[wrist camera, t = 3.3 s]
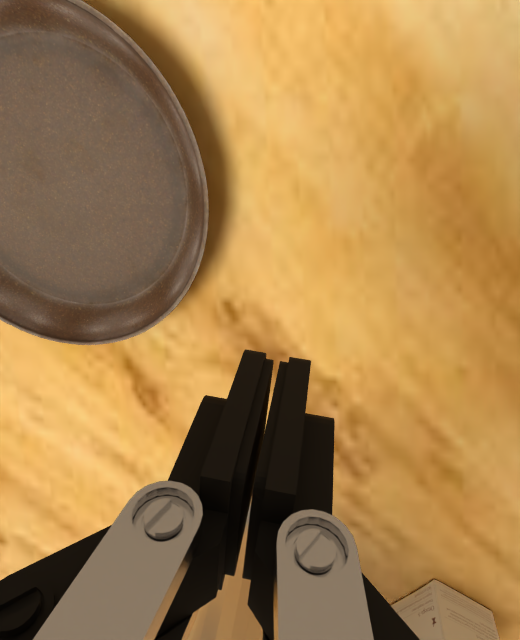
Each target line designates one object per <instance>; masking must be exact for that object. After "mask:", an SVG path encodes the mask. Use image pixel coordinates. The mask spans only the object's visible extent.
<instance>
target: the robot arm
mask: <svg viewBox="0 0 520 640" xmlns="http://www.w3.org/2000/svg"><path fill="white" fill-rule="evenodd" d="M310 365H311V361H310V360H304V359H298V358H292V357H290V358H289V363H287V362H282V361H280V364H279V369H278V374H277V378H276V383H275V387H274V392H273V397H272V401H271V406H270V411H269V415H268V420H267V424H266V417H267V409H268V401H269V393H270V386H271V378H272V370H273V360H270V359H266V353H263V352H257V351H251V350H244V353H243V356H242V358H241V361H240V364H239V367H238V370H237V373H236V375H235V378H234V381H233V384H232V387H231V390H230V392H229V395H228V398H227V399H224V398H218V397H212V396H207V395H206V396H205V397H204V398H203V400H202V402H201V404H200V406H199V409H198V411H197V413H196V416H195V418H194V420H193V423H192V425H191V428H190V430H189V432H188V435H187V437H186V439H185V442H184V444H183V446H182V449H181V451H180V453H179V456H178V458H177V460H176V463H175V465H174V467H173V470H172V472H171V474H170V477H169V479H168V481H159V482H156V483H153V484H150V485H147V486H145V487H144V488H142V489H141V490H139V491H137V492H136V493H135V495H134V496H133V497H132V498H131V499H130V500H129V501H128V503H127V504H126V506H125V507H124V508H123V510H122V511H121V513H120V514H119V516H118V517H117V519H116V520H115V521H114V523H113V524H112V525H111V526H109V527H107V528H105V529H103V530H101V531H99V532H96V533H94V534H92V535H90V536H88V537H86V538H84V539H82V540H80V541H78V542H76V543H74V544H72V545H70V546H68V547H66V548H64V549H62V550H60V551H58V552H56V553H54V554H52V555H50V556H48V557H45V558H43V559H41V560H39V561H37V562H35V563H33V564H31V565H29V566H27V567H25V568H23V569H21V570H19V571H17V572H15V573H13V574H11V575H9V576H7V577H6V578H4V579H2V580H1V581H0V640H420V639H419V638H418V637H417V636H416V634H415V633H414V632H413V631H412V630H411V629H410V628H409V626H408V625H407V624H406V623H405V622H404V621H403V619H402V618H401V617H400V616H399V615H398V614H397V613H396V611H395V610H394V609H393V608H392V607H391V606H390V604H389V603H388V602H387V601H386V600H385V599H384V598H383V596H382V595H381V594H380V593H379V592H378V591H377V590H376V588H375V587H374V586H373V585H372V584H371V583H370V581H369V580H368V579H367V578H366V577H365V576H364V575H363V573H362V572H361V567H360V562H359V557H358V551H357V547H356V544H355V541H354V538H353V536H352V534H351V533H350V531H349V530H348V528H347V527H346V526H345V525H344V524H343V523H342V522H341V521H340V520H339V519H337V518H336V517H334V516H332V500H333V461H334V418H329V417H323V416H318V415H312V414H307V413H305V410H306V401H307V392H308V383H309V374H310ZM265 424H266V429H265ZM264 432H265V434H264Z"/></svg>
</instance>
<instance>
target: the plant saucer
mask: <svg viewBox="0 0 520 640" xmlns="http://www.w3.org/2000/svg"><path fill="white" fill-rule="evenodd" d="M208 220H209V202H208V189H207V182H206V176H205V171H204V166H203V162H202V158H201V155H200V151H199V147H198V145H197V142H196V139H195V136H194V133H193V131H192V128H191V126H190V124H189V121H188V119H187V117H186V115H185V113H184V110H183V109H182V107H181V105H180V103H179V101H178V99H177V97H176V95H175V94H174V92H173V90H172V89H171V87H170V85H169V84H168V82H167V81H166V79H165V78H164V77H163V75H162V74H161V72H160V71H159V69H158V68H157V67H156V66H155V64H154V63H153V62H152V60H151V59H150V58H149V57H148V56H147V54H146V53H145V52H144V51H143V50H142V49H141V48H140V47H139V46H138V45H137V44H136V42H135V41H134V40H133V39H132V38H131V37H130V36H128V35H127V34H126V33H125V32H124V31H123V30H122V29H121V28H120V27H118V26H117V25H116V24H115V23H114V22H112V21H111V20H110V19H109V18H107V17H106V16H105V15H103V14H102V13H100V12H99V11H98V10H96V9H95V8H93V7H92V6H90V5H88V4H87V3H85V2H84V1H82V0H0V320H2V321H4V322H5V323H7V324H10V325H12V326H14V327H16V328H18V329H19V330H22V331H25V332H27V333H29V334H32V335H35V336H38V337H41V338H44V339H48V340H52V341H56V342H62V343H69V344H77V345H98V344H107V343H113V342H118V341H121V340H125V339H128V338H131V337H134V336H136V335H138V334H141V333H143V332H145V331H147V330H148V329H150V328H152V327H153V326H155V325H156V324H157V323H159V322H160V321H161V320H163V319H164V318H165V317H166V316H167V315H169V314H170V313H171V312H172V311H173V310H174V308H175V307H176V306H177V305H178V304H179V303H180V301H181V300H182V299H183V297H184V296H185V294H186V293H187V291H188V290H189V288H190V286H191V284H192V282H193V280H194V278H195V276H196V274H197V272H198V269H199V266H200V263H201V260H202V257H203V253H204V249H205V245H206V239H207V232H208Z"/></svg>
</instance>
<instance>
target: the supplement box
mask: <svg viewBox="0 0 520 640" xmlns="http://www.w3.org/2000/svg"><path fill="white" fill-rule="evenodd" d="M390 606H391V607H392V608H393V609H394V610H395V611H396V613H397V614H398V615H399V616H400V617H401V618H402V619H403V621H404V622H405V623H406V624H407V625H408V626H409V628H410V629H411V630H412V631H413V632H414V633H415V634H416V636H417V637H418V638H419V639H420V640H500V639H499V635H498V631H497V628H496V624H495V620H494V617H493V613H492V611H490V610H489V609H487V608H485V607H484V606H482V605H480V604H478V603H477V602H475V601H473V600H471V599H470V598H468V597H466V596H464V595H463V594H461V593H459V592H457V591H455V590H454V589H452V588H450V587H448V586H446V585H445V584H443V583H441V582H439V581H437V580H435V579H434V580H433V581H431V582H430V583H428V584H427V585H425V586H424V587H422V588H421V589H419V590H417V591H416V592H414V593H412V594H410V595H409V596H407V597H405V598H403V599H401V600H400V601H398V602H396V603H394V604H393V605H390Z"/></svg>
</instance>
